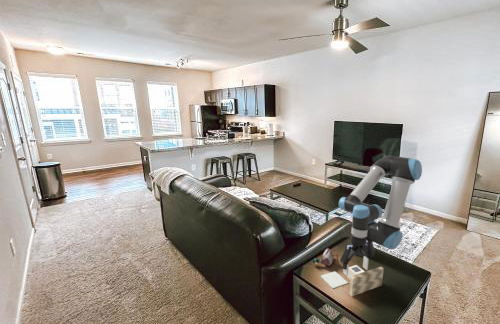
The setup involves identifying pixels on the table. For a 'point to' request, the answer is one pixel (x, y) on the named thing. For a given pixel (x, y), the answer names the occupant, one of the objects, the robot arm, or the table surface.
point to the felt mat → (334, 279)
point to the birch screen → (366, 281)
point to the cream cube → (354, 271)
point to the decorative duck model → (326, 258)
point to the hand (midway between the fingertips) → (355, 271)
